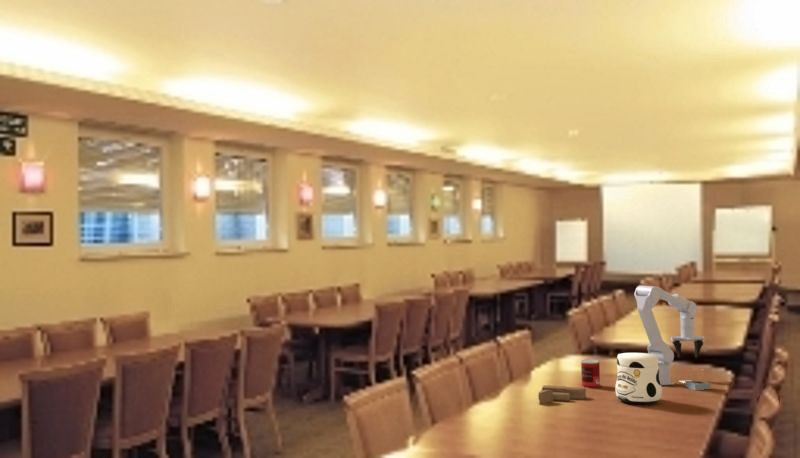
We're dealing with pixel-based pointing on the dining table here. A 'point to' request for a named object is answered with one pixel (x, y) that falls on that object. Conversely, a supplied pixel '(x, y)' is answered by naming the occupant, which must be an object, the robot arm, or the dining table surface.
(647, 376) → the milk container
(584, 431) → the dining table surface
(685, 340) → the robot arm
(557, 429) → the dining table surface
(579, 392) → the wooden block set
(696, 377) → the top brick
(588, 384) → the canned food
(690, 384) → the base brick
